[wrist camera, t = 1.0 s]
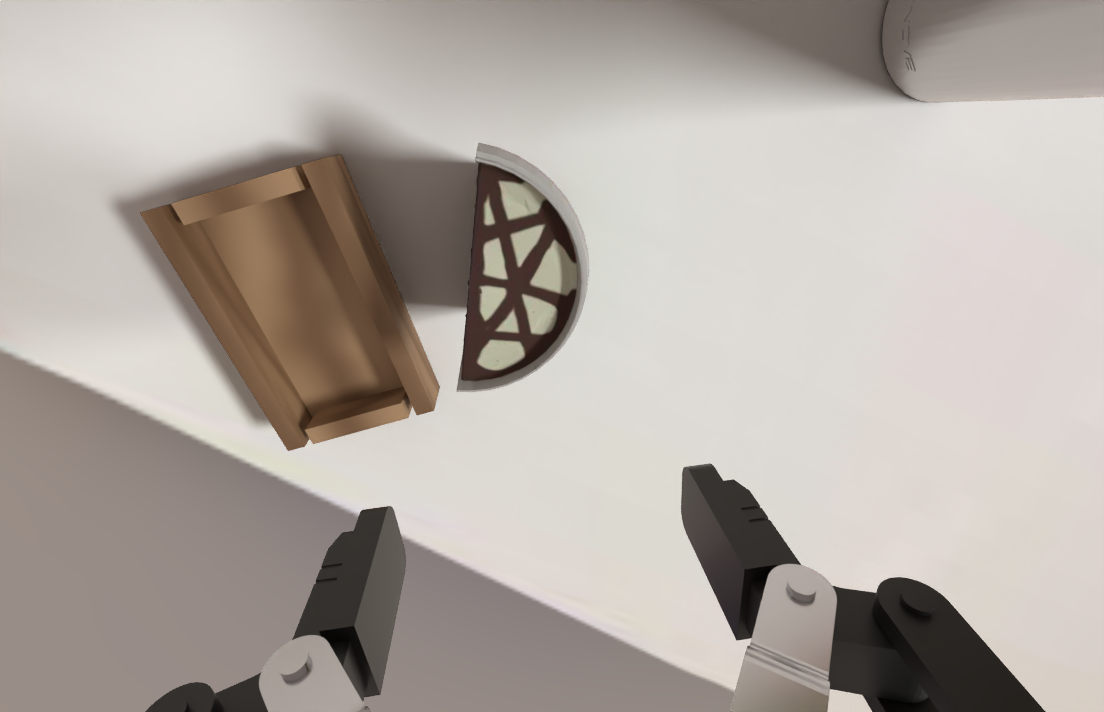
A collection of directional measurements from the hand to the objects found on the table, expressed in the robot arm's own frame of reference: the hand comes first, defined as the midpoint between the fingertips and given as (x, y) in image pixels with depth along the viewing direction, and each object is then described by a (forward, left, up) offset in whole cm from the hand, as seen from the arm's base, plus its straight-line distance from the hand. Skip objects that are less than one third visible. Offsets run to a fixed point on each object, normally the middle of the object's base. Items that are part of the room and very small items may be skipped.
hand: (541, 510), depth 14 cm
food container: (-1, -2, -22) cm, 22 cm away
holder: (+13, -2, -22) cm, 26 cm away
